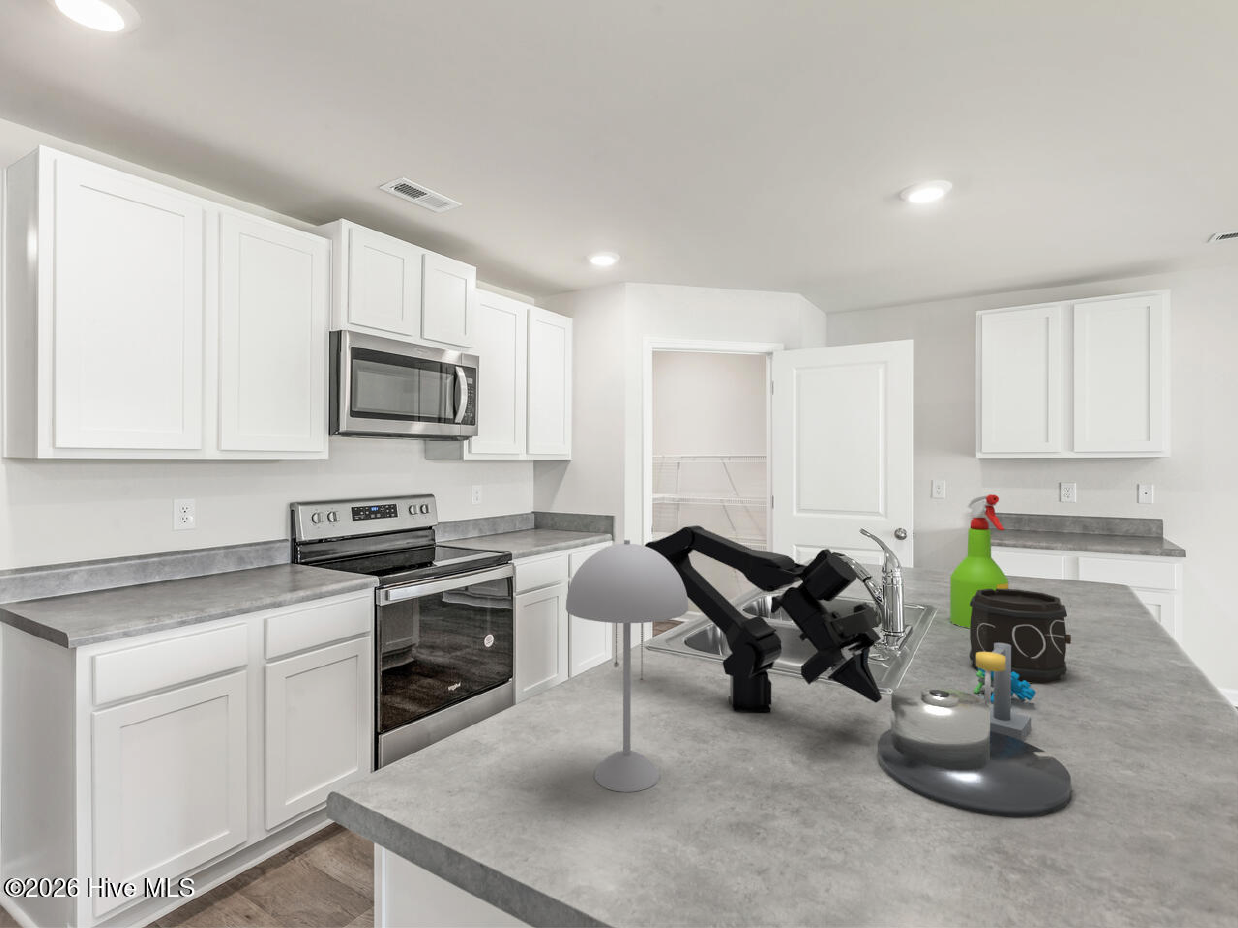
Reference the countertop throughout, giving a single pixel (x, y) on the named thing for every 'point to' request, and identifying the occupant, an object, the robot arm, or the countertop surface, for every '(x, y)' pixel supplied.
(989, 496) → the spray bottle
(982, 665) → the gauge stand
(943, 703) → the cover
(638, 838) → the countertop surface
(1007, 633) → the wooden barrel
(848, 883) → the countertop surface
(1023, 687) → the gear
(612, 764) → the lamp
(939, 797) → the turntable
